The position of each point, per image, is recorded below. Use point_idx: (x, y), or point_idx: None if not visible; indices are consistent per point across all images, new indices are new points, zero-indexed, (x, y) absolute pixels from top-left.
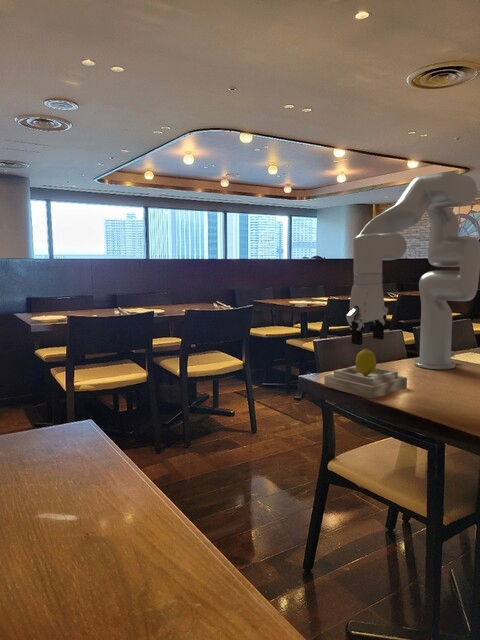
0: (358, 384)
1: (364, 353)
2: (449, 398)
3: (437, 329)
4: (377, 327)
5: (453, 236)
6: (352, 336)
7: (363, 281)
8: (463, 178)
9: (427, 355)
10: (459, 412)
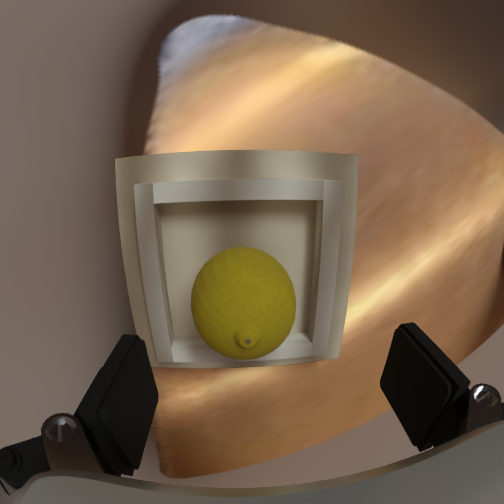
0: (134, 321)
1: (211, 341)
2: (306, 423)
3: None
4: (425, 411)
5: None
6: (90, 387)
7: None
8: None
9: None
10: (233, 458)
